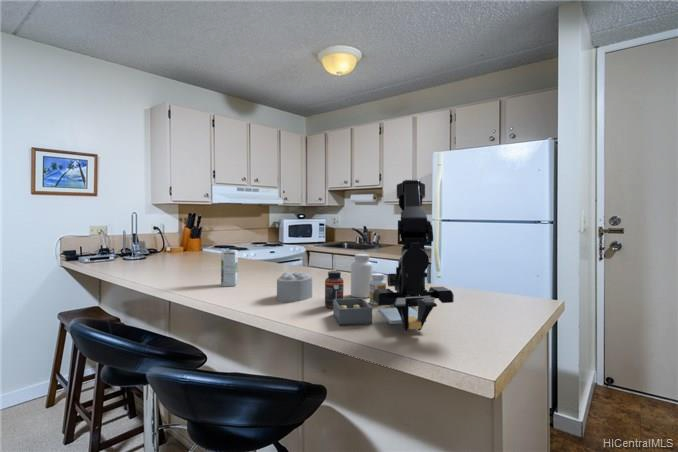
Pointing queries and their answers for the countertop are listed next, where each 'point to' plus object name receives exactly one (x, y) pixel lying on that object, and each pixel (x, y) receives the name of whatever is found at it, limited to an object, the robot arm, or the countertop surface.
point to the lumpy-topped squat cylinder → (294, 287)
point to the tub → (352, 312)
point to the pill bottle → (361, 276)
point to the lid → (394, 317)
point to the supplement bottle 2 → (376, 285)
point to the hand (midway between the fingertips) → (412, 330)
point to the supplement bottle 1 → (333, 288)
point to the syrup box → (229, 268)
